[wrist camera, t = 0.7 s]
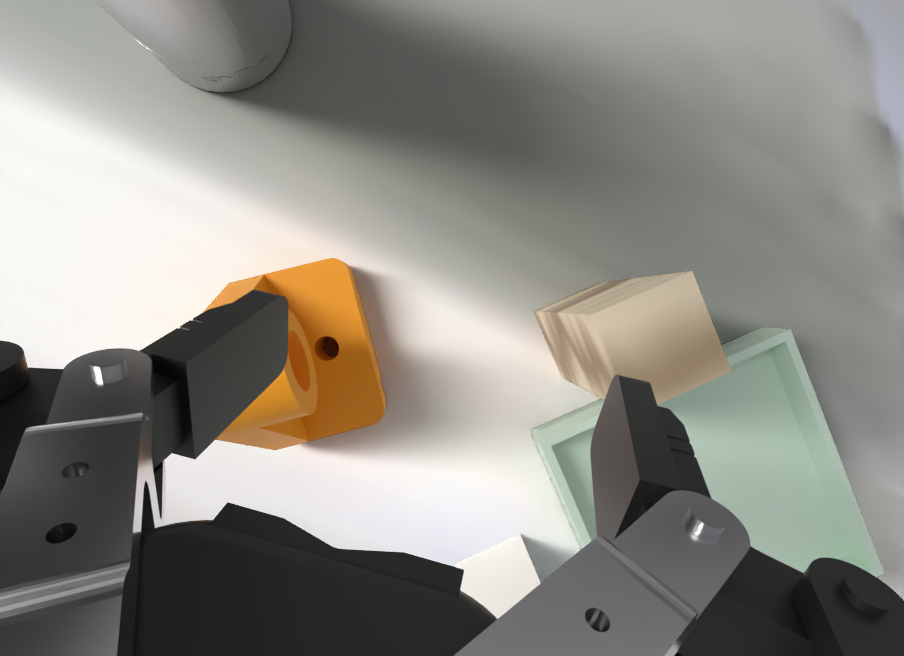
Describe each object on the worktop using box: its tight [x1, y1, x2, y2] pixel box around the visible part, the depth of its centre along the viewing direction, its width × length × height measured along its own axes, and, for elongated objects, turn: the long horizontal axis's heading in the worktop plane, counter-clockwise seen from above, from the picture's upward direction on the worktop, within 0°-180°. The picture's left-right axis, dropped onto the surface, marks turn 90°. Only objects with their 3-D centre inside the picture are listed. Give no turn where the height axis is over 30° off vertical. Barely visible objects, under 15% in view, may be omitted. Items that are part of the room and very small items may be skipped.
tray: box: [530, 327, 885, 577], centre depth 34 cm, size 18×18×3 cm
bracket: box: [204, 258, 386, 450], centre depth 28 cm, size 11×7×12 cm, turn 14°
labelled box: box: [455, 534, 541, 619], centre depth 29 cm, size 5×5×12 cm
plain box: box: [534, 271, 732, 405], centre depth 29 cm, size 5×5×12 cm
